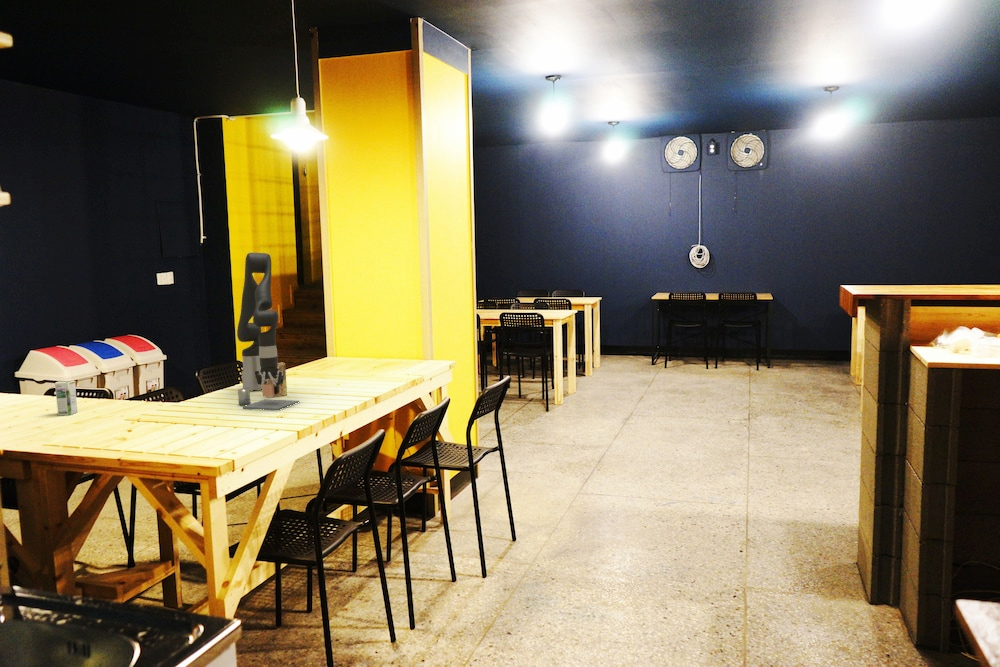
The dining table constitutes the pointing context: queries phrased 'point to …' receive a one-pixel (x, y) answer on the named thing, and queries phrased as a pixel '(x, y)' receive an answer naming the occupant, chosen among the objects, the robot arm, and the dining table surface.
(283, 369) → the candy box
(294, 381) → the dining table surface
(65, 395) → the syrup box
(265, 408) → the slate board
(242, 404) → the grey metal cylinder
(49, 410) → the dining table surface
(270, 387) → the terracotta block
